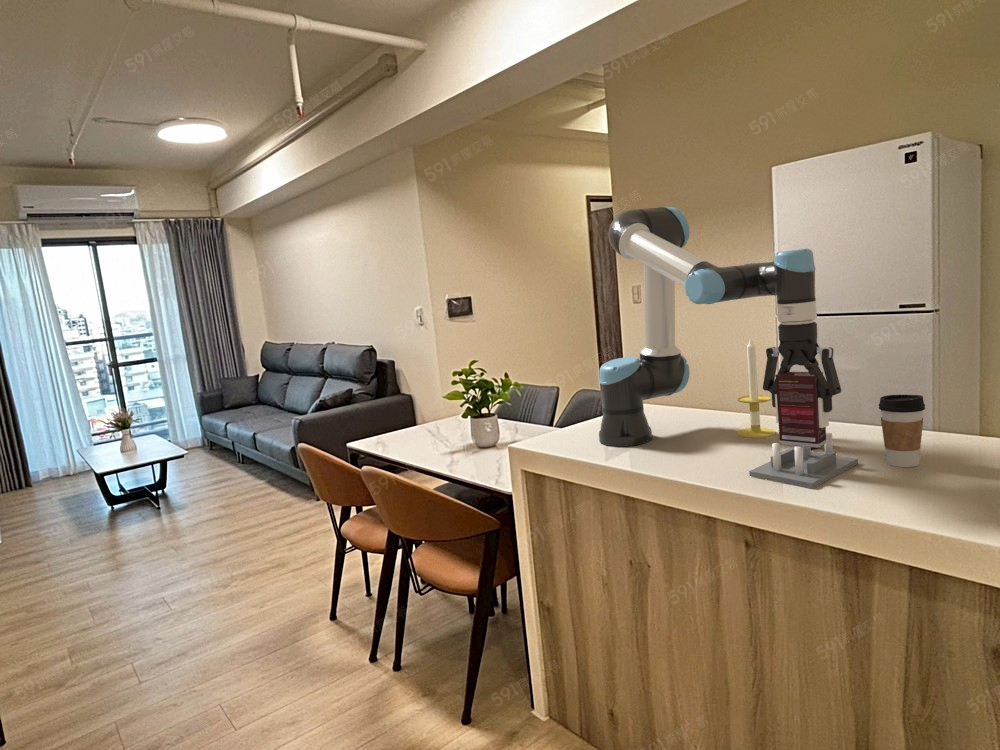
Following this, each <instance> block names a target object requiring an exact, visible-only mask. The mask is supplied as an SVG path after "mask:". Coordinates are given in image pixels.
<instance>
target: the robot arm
mask: <svg viewBox="0 0 1000 750" xmlns="http://www.w3.org/2000/svg"><path fill="white" fill-rule="evenodd" d="M690 233H691V232H690V224H689V221H688V219H687V217H686V215H685V214H684V213H683V211H681V210H680V209H679V208H677V207H672V206H660V207H649V208H648V207H647V208H639V209H637V208H633V209H627V210H624V211H623V212H621V213H619V214H618V215H616V217H615V218H614V219H613V220H612V221H611V223H610V225H609V228H608V234H607V235H608V241H609V244H610V246H611V248H612V249H613V250H614V251H615V252H616V253H617V254H619V255H620V256H622V257H623V258H625V259H628V260H636V261H638V262H640V263H642V264H643V300H644V301H643V304H644V306H643V307H644V309H643V310H644V311H643V312H644V317H643V318H644V347H642V349H641V350H639V357H637V356H624V357H619V358H615V359H611V360H608V361H606V362H604V363H603V364H601V366H600V368H599V379H598V382H599V386H600V395H601V396H600V397H601V407H602V419H601V424H600V430H599V432H598V441H599V443H601V444H603V445H607V446H612V447H628V446H636V445H641V444H645V443H648V442H649V441H651V440H652V439H653V433H652V432H653V431H652V428H651V427H650V426H649V422H648V419H647V417H646V414H645V411H644V410H645V409H644V401H646V400H650V399H655V398H659V397H669V396H671V395H674V394H678V393H680V392H681V391H683V390H684V389H685V388H686V387H687V385H688V383H689V380H690V374H691V373H690V365H689V364H688V361H687V359H686V357H684V355H682V354H681V353H682V352H681V350H680V349H679V347H678V346H677V345H676V284H677V285H679V286H681V287H682V288H684V291H685V294H686V296H687V297H688V299H689V301H690V302H692V303H693V304H696V305H711V304H712V305H713V304H716V303H721V302H722V303H723V302H728V301H735V300H743V299H744V300H745V299H748V298H750V299H751V298H756V297H767V296H776V308H777V322H779V323H780V324H779V325H778V327H777V328H778V329H777V330H778V331H777V332H778V340H779V345H778V346H777V347H776V346H772V347H771V346H770V347H768V348H766V349H765V352H766V358H767V359H766V365H765V371H764V376H763V384H762V390H763V391H765V392H766V391H767V392H769V393H770V394H771V406H772V408H775V420H776V421H775V422H776V423H777V424H779V423H778V407H777V391H776V376H775V375H777V374H779V373H783V374H784V373H787V372H791V369H792V367H793V366H796V365H798V366H800V367H801V366H804V369H805V370H807V372H809V373H810V375H816V376H817V388H818V390H819V392H820V394H821V397H819V398H818V416H819V428H824V427H826V428H827V427H828V426H830V421H829V420H830V418H829V417H830V416H829V413H830V412H832V410H833V396H836V395H838V394H841V393H842V388H841V384H840V380H839V376H838V373H837V369H836V365H835V361H834V350H835V349H834V348H833V347H820V345H819V344H818V322H816V321H815V320H816V319H817V318H818V317H817V314H818V313H817V301H816V300H817V298H816V266H815V265H816V264H815V257H814V252H813V250H812V249H811V248H800V249H792V250H791V249H790V250H784V251H777V252H776V253H775V254H774V261H768V262H767V261H766V262H765V261H764V262H752V263H745V264H740V265H739V264H738V265H732V266H731V265H729V266H724V267H723V266H722V267H720V266H717V265H714V264H712V263H710V262H709V261H707V260H704V259H702V258H701V257H699V256H697V255H695V254H693V253H691V252H689V251H687V250H685V249H684V247H685V246H686V244H687V242H688V241H689V239H690ZM780 355H781V357H782V358H783V359H782V361H781V363H780V368H779V370H778V372H777V369H778V368H777V367H778V362H779V361H778V360H779V356H780ZM817 355H818V356H819V358H820V359H821V365H822V368H823V374H822V370H821V368H820V366H819V361H818V359H817V358H816V356H817ZM776 373H777V374H776Z"/></svg>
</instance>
